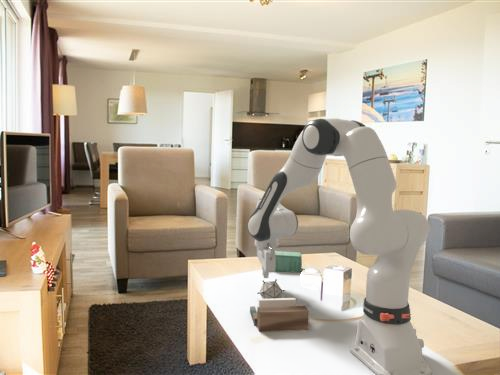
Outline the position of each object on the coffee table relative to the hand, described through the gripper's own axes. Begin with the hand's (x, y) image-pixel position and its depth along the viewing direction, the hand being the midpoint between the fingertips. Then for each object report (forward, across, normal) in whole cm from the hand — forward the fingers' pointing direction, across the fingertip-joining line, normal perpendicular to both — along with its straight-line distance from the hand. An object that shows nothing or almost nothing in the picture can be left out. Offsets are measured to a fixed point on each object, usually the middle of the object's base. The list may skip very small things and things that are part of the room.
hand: (265, 276), depth 172 cm
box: (+6, +28, -14) cm, 32 cm away
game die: (+6, -11, 0) cm, 13 cm away
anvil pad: (+6, -23, 0) cm, 24 cm away
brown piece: (+6, -27, 0) cm, 28 cm away
